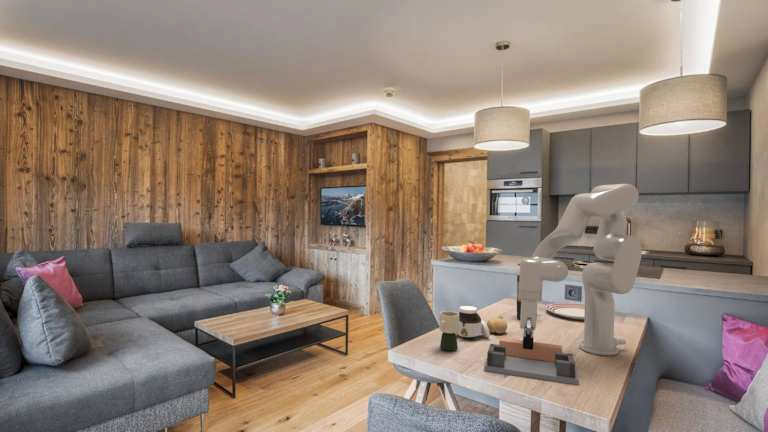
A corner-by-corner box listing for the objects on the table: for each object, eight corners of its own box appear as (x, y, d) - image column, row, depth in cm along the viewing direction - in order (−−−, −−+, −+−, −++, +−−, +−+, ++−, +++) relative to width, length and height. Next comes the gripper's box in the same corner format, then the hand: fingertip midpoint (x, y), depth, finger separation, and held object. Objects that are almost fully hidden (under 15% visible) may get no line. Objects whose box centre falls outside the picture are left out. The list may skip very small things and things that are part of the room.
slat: (499, 354, 139) (499, 340, 139) (500, 351, 142) (500, 337, 142) (561, 363, 131) (562, 348, 131) (561, 360, 134) (561, 345, 134)
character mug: (447, 343, 149) (448, 308, 149) (464, 347, 145) (465, 312, 145) (432, 351, 141) (432, 314, 141) (450, 355, 136) (450, 318, 136)
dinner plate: (548, 320, 183) (548, 313, 183) (543, 306, 209) (543, 300, 209) (615, 326, 175) (615, 318, 175) (601, 310, 201) (601, 304, 201)
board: (484, 370, 124) (484, 366, 124) (487, 358, 134) (488, 354, 134) (578, 384, 114) (578, 379, 114) (574, 370, 125) (574, 365, 125)
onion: (499, 337, 157) (499, 319, 157) (482, 332, 163) (483, 315, 163) (510, 333, 162) (511, 316, 162) (494, 328, 168) (494, 312, 168)
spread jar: (451, 335, 158) (452, 306, 158) (470, 330, 165) (470, 303, 165) (475, 344, 149) (475, 313, 149) (494, 338, 156) (494, 308, 155)
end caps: (487, 365, 124) (487, 352, 124) (490, 355, 133) (490, 343, 133) (575, 378, 116) (575, 364, 116) (572, 366, 124) (572, 354, 124)
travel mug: (535, 318, 184) (536, 275, 184) (531, 322, 178) (532, 278, 178) (518, 316, 188) (519, 274, 188) (514, 319, 182) (515, 276, 182)
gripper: (519, 289, 145) (517, 336, 146) (517, 298, 129) (515, 350, 129) (541, 291, 143) (539, 339, 143) (542, 301, 127) (540, 354, 127)
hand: (528, 344), depth 136 cm, fingers open, 9 cm apart
